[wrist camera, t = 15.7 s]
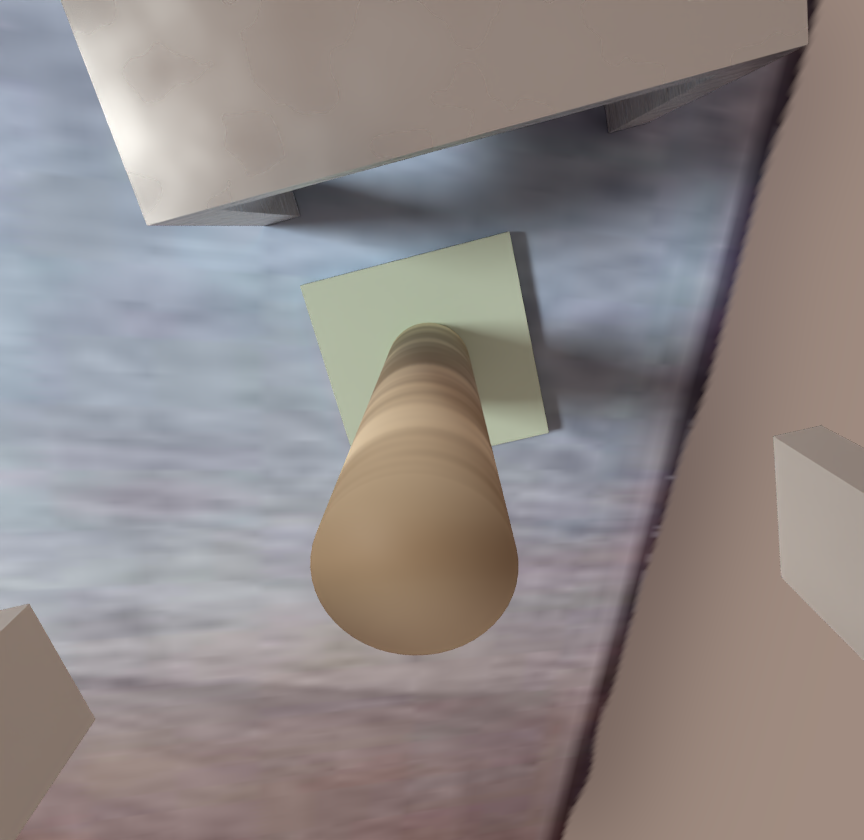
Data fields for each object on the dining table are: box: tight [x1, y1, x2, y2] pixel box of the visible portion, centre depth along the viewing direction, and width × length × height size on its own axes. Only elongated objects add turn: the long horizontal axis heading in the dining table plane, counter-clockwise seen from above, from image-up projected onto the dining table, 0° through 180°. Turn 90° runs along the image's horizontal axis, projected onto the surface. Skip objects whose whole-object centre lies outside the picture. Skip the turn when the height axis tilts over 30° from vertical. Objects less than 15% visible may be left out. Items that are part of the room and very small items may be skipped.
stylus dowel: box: [310, 323, 518, 655], centre depth 20 cm, size 4×4×18 cm
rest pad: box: [300, 232, 549, 446], centre depth 29 cm, size 10×10×1 cm
